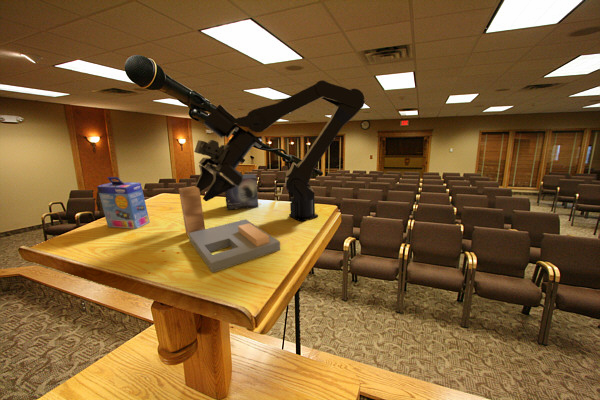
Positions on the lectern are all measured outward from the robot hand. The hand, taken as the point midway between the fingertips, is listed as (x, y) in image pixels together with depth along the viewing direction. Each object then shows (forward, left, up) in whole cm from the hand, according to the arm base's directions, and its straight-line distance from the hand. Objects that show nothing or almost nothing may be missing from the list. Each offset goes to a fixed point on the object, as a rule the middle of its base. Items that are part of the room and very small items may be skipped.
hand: (199, 196), depth 67 cm
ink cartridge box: (+16, -19, -10) cm, 27 cm away
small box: (-17, -14, -10) cm, 24 cm away
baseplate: (-3, +13, -9) cm, 17 cm away
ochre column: (+2, 0, -10) cm, 10 cm away
